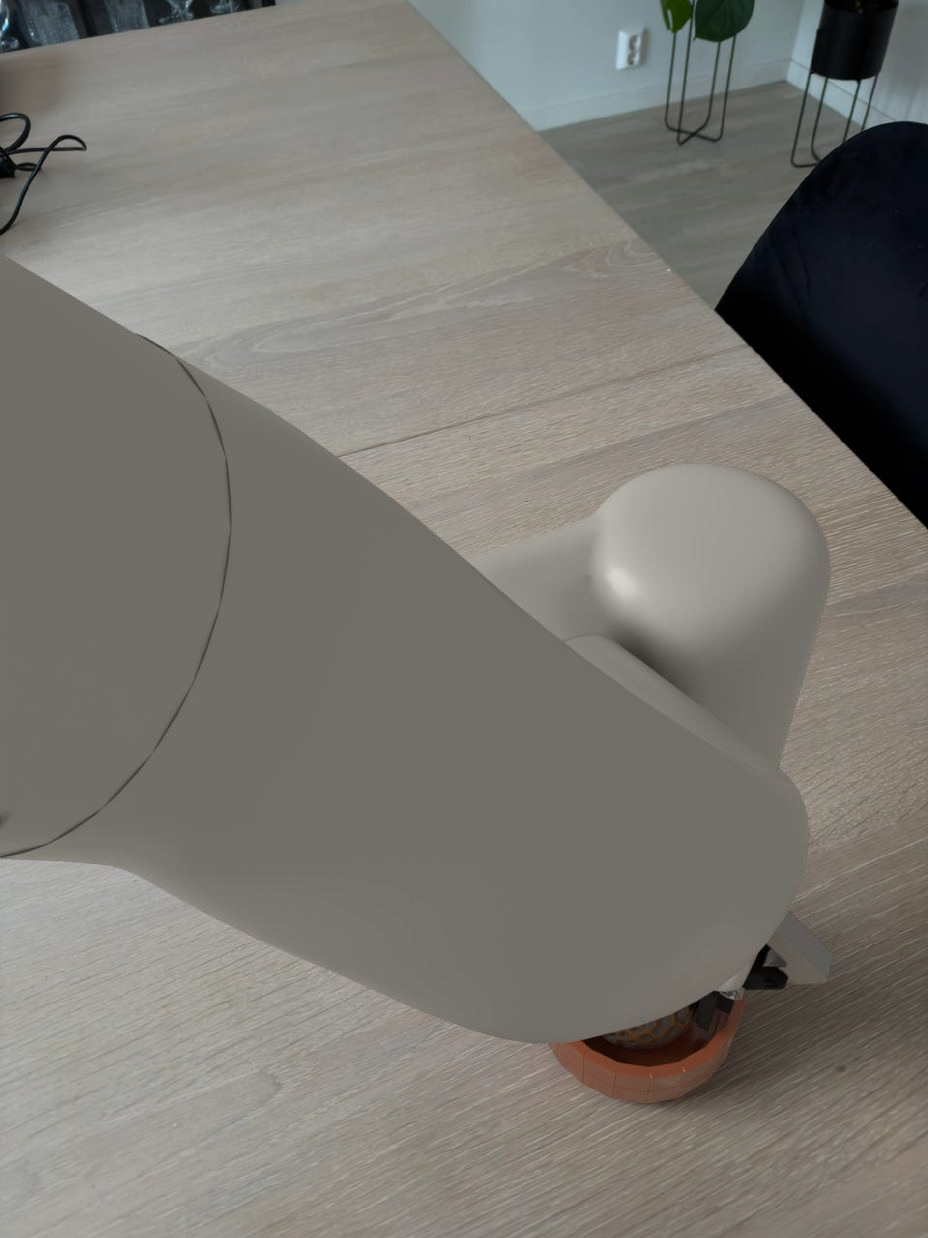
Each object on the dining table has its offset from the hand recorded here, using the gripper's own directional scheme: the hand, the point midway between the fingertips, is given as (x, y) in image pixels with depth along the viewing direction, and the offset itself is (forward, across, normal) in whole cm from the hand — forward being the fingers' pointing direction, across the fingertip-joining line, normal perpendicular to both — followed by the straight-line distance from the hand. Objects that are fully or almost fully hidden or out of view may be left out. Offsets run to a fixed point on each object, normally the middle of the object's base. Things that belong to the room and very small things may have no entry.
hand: (638, 967), depth 54 cm
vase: (+4, 0, 0) cm, 4 cm away
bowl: (+5, 0, 0) cm, 5 cm away
